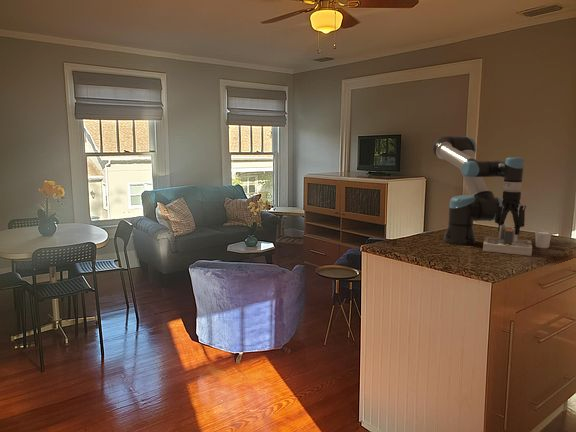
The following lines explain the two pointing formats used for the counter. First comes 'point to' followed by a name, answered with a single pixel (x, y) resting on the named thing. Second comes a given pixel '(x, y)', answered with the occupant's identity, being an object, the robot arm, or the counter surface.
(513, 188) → the robot arm
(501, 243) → the dial
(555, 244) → the counter surface
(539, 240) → the shot glass
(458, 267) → the counter surface
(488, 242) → the housing
